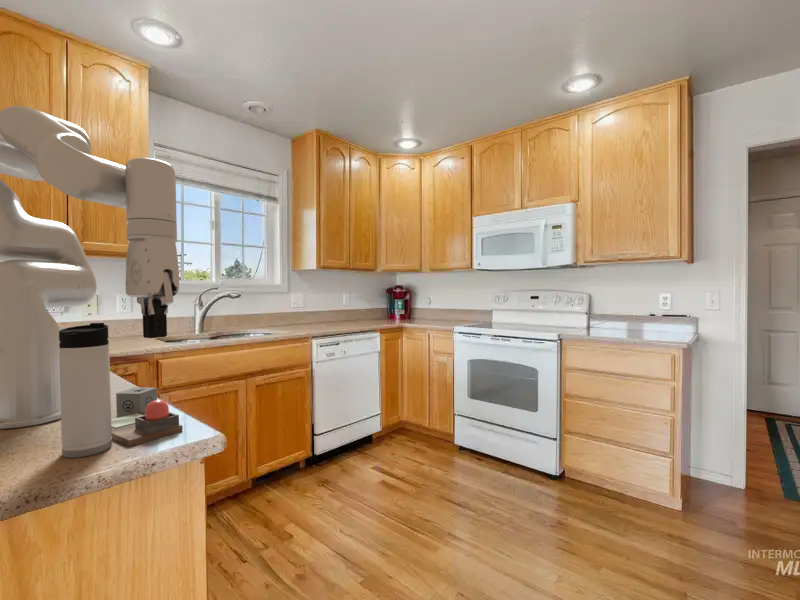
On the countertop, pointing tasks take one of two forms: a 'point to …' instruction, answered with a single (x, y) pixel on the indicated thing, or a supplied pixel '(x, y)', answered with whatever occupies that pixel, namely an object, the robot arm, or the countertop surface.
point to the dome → (156, 410)
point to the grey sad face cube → (134, 400)
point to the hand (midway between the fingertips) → (155, 337)
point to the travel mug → (85, 390)
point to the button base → (143, 428)
